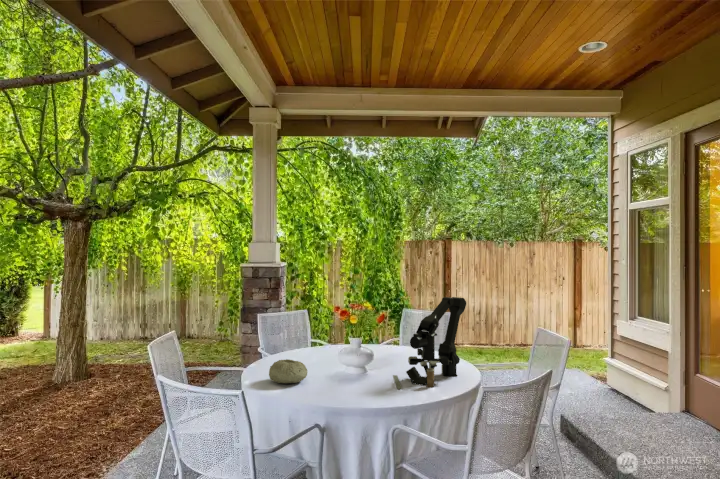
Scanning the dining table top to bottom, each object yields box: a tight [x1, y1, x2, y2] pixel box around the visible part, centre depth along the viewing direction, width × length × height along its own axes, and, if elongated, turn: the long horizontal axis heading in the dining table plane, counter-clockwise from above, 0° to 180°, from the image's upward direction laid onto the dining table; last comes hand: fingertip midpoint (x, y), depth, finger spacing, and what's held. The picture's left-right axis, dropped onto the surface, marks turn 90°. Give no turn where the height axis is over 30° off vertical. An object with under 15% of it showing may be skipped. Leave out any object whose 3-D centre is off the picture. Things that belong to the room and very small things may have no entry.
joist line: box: [392, 374, 403, 390], centre depth 214 cm, size 2×22×1 cm, turn 1°
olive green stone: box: [268, 358, 309, 384], centre depth 213 cm, size 18×18×10 cm
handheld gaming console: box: [405, 366, 427, 386], centre depth 216 cm, size 12×7×10 cm
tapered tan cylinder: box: [426, 367, 435, 389], centre depth 207 cm, size 3×3×8 cm
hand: (428, 378), depth 216 cm, fingers closed
